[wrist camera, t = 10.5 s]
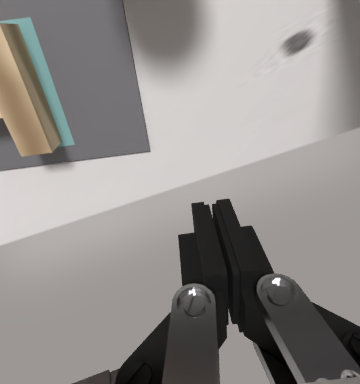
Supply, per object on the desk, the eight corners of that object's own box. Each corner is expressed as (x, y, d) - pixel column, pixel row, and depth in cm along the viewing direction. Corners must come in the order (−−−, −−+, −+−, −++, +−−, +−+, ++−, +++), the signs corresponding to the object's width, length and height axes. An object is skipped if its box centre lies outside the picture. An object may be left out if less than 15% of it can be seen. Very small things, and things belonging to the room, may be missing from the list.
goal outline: (31, 17, 29) (30, 17, 29) (75, 143, 37) (74, 144, 37) (-83, 32, 29) (-85, 32, 29) (-14, 155, 37) (-15, 156, 37)
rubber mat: (117, -23, 28) (117, -23, 27) (150, 150, 38) (149, 150, 38) (-139, 12, 28) (-142, 11, 28) (-36, 174, 39) (-38, 175, 38)
